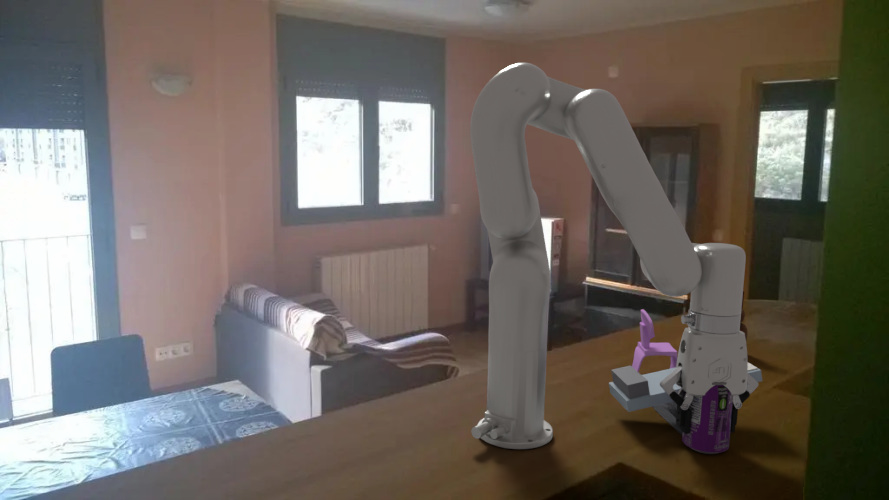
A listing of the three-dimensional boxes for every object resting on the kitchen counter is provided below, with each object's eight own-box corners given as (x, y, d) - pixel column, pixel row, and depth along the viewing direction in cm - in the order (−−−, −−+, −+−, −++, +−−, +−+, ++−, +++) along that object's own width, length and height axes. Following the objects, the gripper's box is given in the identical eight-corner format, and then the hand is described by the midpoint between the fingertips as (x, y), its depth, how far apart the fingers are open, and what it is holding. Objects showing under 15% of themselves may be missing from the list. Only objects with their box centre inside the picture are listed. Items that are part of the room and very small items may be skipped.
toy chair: (680, 389, 139) (685, 316, 137) (635, 387, 139) (640, 314, 137) (668, 375, 147) (673, 306, 145) (626, 373, 147) (630, 305, 145)
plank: (628, 411, 117) (624, 387, 116) (610, 392, 126) (606, 369, 125) (762, 381, 119) (759, 356, 118) (735, 364, 128) (732, 341, 127)
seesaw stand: (681, 435, 117) (683, 403, 116) (650, 405, 130) (652, 377, 129) (715, 434, 117) (718, 402, 116) (681, 405, 130) (683, 376, 129)
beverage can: (732, 459, 108) (738, 385, 106) (684, 454, 109) (690, 381, 108) (723, 440, 115) (729, 371, 113) (679, 436, 116) (684, 367, 114)
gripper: (671, 329, 104) (663, 441, 107) (780, 328, 106) (769, 438, 109) (651, 316, 112) (644, 422, 114) (753, 315, 113) (744, 419, 116)
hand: (705, 429), depth 112 cm, fingers closed on beverage can, 6 cm apart
